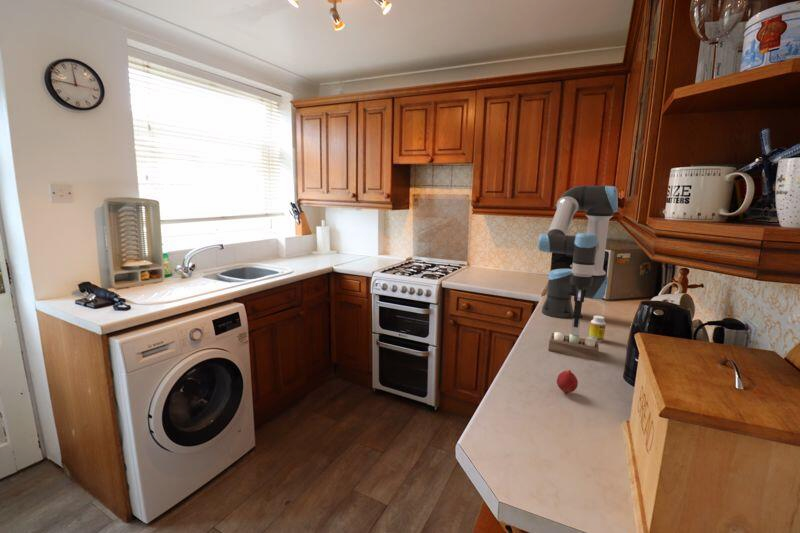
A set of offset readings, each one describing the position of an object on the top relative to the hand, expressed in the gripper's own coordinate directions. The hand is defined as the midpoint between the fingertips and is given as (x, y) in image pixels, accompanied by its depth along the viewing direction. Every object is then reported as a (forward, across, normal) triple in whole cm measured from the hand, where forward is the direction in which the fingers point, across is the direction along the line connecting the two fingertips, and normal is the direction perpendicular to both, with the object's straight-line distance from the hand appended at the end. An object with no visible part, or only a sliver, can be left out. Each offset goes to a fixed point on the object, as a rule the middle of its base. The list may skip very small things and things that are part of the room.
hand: (574, 334), depth 146 cm
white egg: (+6, 0, +6) cm, 8 cm away
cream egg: (+6, 0, -6) cm, 8 cm away
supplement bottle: (+7, -18, +8) cm, 21 cm away
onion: (+7, +37, 0) cm, 38 cm away
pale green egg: (+5, 0, 0) cm, 5 cm away
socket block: (+7, 0, 0) cm, 7 cm away
